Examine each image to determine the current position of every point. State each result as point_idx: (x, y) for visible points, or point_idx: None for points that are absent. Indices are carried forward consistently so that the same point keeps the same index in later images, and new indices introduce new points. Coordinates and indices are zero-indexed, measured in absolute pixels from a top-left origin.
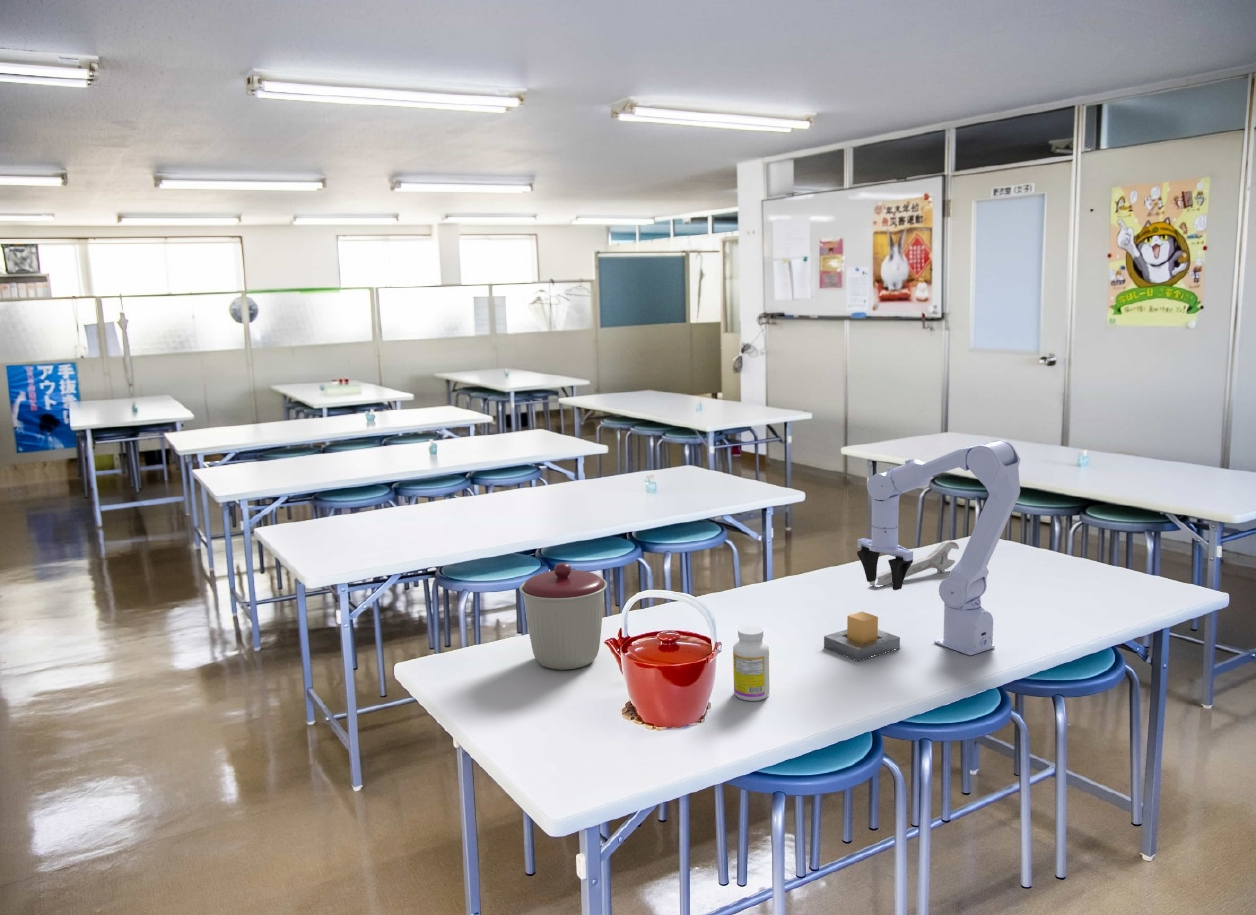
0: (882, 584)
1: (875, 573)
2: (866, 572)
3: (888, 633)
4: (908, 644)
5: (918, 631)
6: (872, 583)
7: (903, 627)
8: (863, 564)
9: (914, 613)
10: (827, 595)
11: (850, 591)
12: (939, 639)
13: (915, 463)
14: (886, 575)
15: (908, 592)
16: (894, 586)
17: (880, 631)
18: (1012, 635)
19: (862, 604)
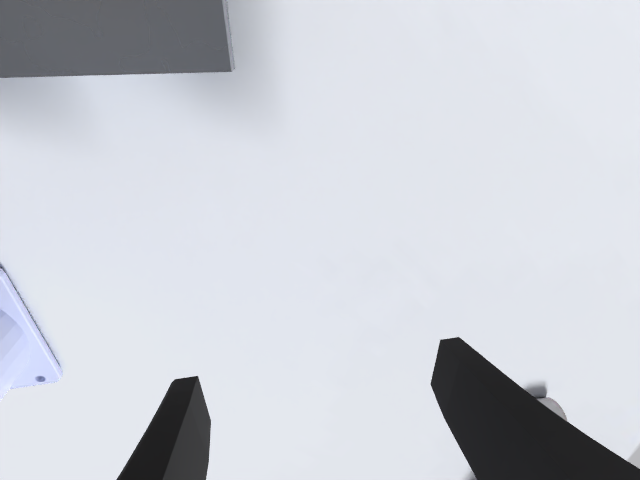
0: None
1: (459, 433)
2: (506, 393)
3: (7, 72)
4: (23, 163)
5: (168, 296)
6: (547, 404)
7: (234, 279)
8: (601, 459)
9: (322, 375)
10: (622, 268)
11: (575, 339)
12: (4, 295)
13: None
14: None
15: (447, 436)
16: (160, 405)
17: (64, 55)
18: (12, 475)
19: (488, 304)
